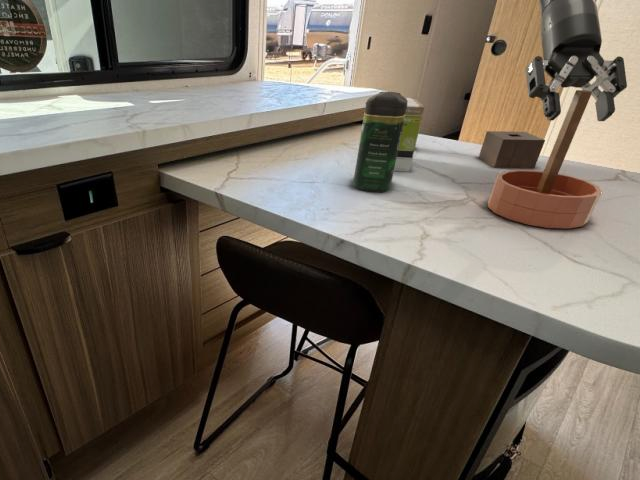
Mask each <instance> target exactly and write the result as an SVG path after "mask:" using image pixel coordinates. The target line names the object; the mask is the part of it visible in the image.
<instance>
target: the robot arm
mask: <svg viewBox="0 0 640 480" xmlns="http://www.w3.org/2000/svg"><path fill="white" fill-rule="evenodd" d="M539 11H540V38H541V47H542V56H540V55H537V56H535V57H534V58H533V60H531V62H530V63H529V64H528V65H527V67H526V68H525V76H526V85H527V86H526V87H527V95H528V97H529V98H531V99H535V98H539V100H540V101H541V102H542V108H543V115H544V117H545V118H546V120H547V121H555V120H556V118H558V117H559V116H560V115H561V113H562V108H561V97H560V92H558V90H559V88H560V87H561V88H563V89H564V88H565V89H566V88H570V87H572V88H577V89H578V88H579V89H580V90H587V91H592V94H591V97H592V98H593V99H594V100H595V102H594V103H595V104H594V105H595V111H596V119H597V122H605V121H607V120H608V119H609V118H610V117H612V116H613V114H614V113H615V112H616V105H615V98H616V97H617V96H618V95H619V94H620V93H621V92H623V91H625V89H627V88H628V82H627V74H626V67H625V60H624V57H623V56H619V55H618V56H617V57H615V58H614V59H612V60H605V59H604V57H603V56H602V55H601V48H602V43H603V41H602V39H603V38H602V31H601V24H600V19H599V17H600V16H599V11H598V6H597V1H596V0H539ZM545 74H547V75H548V76H549V78H551V80H550V81H549V83H548V84H547V85H546V77H545ZM594 78H596V79H595V81H593V82H592V83H591V81H592V80H593V79H594ZM600 88H601V89H603V91H602V90H601V89H600Z"/></svg>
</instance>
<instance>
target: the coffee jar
mask: <svg viewBox="0 0 640 480" xmlns="http://www.w3.org/2000/svg"><path fill="white" fill-rule="evenodd" d="M406 98H407V97H405V96H403V95H402V94H401V92H396V91H380V92H378V93H376V94H375V95H372V96H370V97H369V98H368V99H367V100H366V102H365V108H364V113H363V119H362V126H361V132H360V138H359V144H358V151H357V158H356V164H355V169H354V176H353V181H352V185H353V188H354V189H357V190H360V191H363V192H371V193H372V192H373V193H384V192H387V191H388V190H389V189H390V187H391V185H392V181H393V176H394V172H395V171H394V167H395V163H396V158H397V154H398V150H399V145H400V140H401V136H402V131H403V126H404V120H405V115H406V109H407V99H406Z"/></svg>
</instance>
